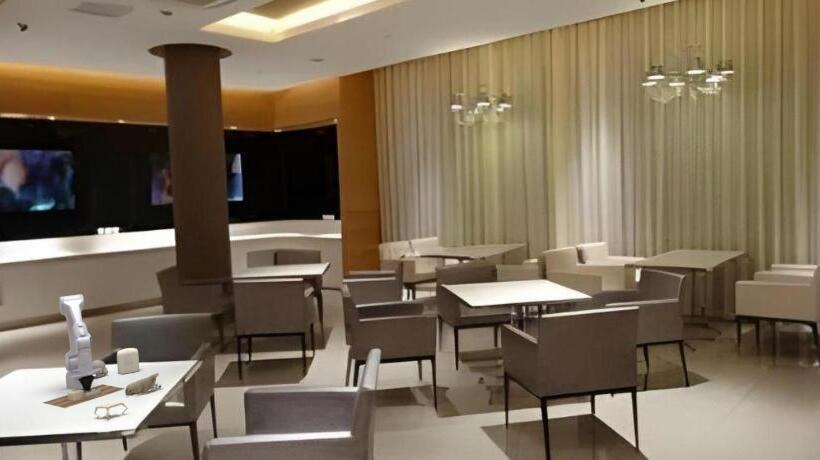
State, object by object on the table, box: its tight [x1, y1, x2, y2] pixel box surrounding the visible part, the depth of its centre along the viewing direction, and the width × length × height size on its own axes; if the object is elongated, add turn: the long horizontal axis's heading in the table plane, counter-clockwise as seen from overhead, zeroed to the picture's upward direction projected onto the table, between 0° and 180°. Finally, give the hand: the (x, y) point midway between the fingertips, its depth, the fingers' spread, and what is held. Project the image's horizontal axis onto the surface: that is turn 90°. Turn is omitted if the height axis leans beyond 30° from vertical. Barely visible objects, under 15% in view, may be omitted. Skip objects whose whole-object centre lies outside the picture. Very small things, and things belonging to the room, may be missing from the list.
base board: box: [42, 384, 126, 409], centre depth 303 cm, size 17×29×1 cm, turn 148°
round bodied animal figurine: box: [92, 359, 109, 379], centre depth 336 cm, size 7×12×8 cm, turn 116°
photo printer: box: [116, 347, 140, 375], centre depth 343 cm, size 10×4×12 cm, turn 123°
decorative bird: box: [124, 372, 161, 398], centre depth 307 cm, size 5×16×8 cm, turn 139°
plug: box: [67, 389, 86, 401], centre depth 300 cm, size 8×4×3 cm, turn 153°
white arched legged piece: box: [93, 402, 129, 420], centre depth 276 cm, size 12×8×5 cm
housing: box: [72, 387, 101, 399], centre depth 304 cm, size 10×7×3 cm
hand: (87, 392), depth 304 cm, fingers closed
